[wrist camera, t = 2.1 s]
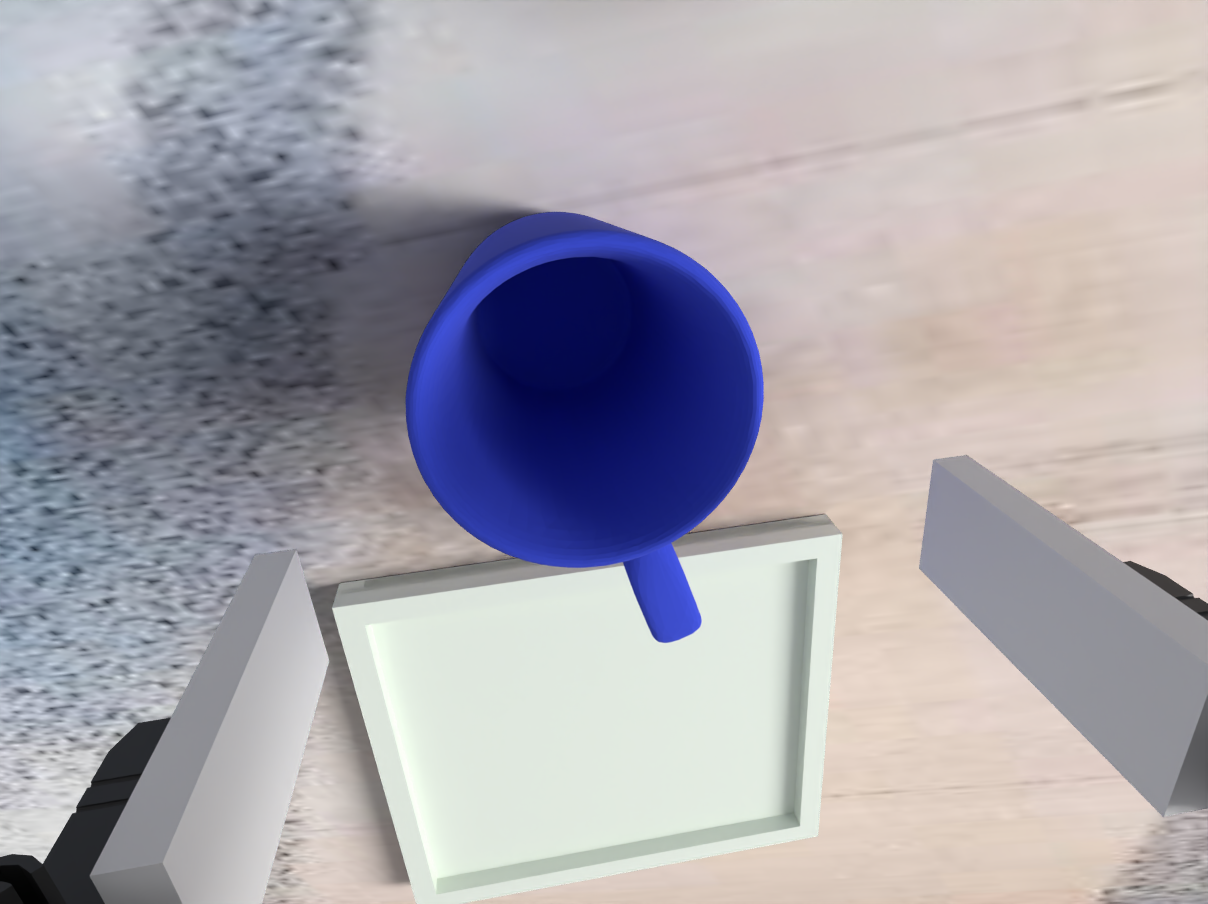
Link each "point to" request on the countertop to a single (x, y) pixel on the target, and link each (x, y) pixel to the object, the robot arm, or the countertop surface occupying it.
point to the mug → (586, 402)
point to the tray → (596, 710)
